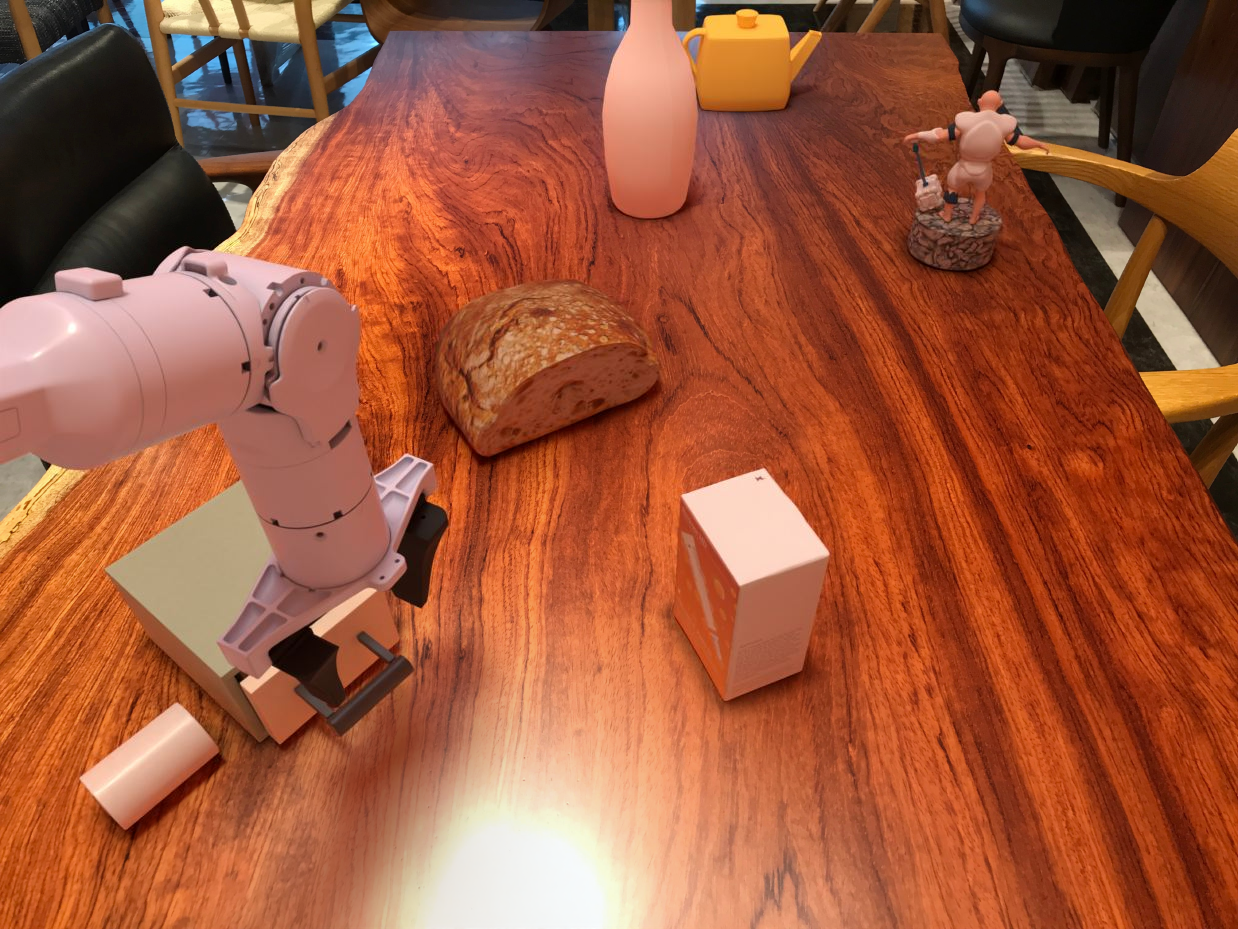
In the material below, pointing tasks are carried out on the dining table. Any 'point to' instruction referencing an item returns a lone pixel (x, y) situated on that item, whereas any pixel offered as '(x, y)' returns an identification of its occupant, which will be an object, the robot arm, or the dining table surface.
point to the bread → (539, 361)
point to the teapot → (746, 61)
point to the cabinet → (199, 591)
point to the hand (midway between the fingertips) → (371, 645)
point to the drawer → (361, 642)
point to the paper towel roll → (149, 765)
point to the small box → (747, 581)
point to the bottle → (650, 115)
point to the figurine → (950, 223)
